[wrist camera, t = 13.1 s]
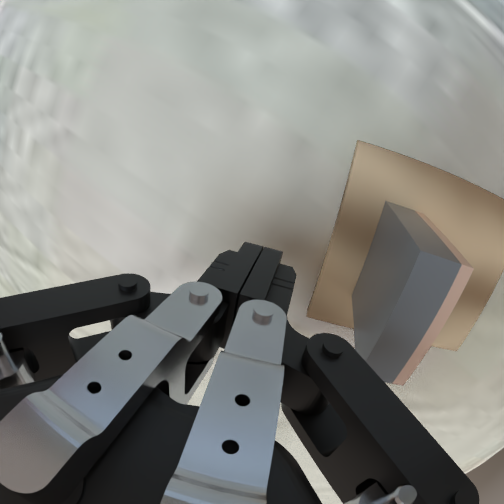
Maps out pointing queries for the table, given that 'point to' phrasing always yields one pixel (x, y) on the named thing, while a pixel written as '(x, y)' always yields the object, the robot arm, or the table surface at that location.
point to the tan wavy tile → (424, 201)
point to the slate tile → (405, 292)
